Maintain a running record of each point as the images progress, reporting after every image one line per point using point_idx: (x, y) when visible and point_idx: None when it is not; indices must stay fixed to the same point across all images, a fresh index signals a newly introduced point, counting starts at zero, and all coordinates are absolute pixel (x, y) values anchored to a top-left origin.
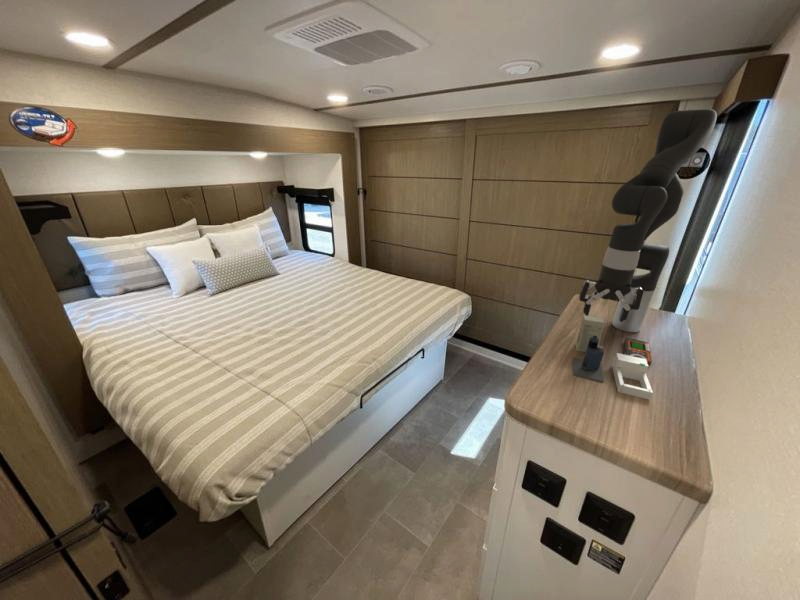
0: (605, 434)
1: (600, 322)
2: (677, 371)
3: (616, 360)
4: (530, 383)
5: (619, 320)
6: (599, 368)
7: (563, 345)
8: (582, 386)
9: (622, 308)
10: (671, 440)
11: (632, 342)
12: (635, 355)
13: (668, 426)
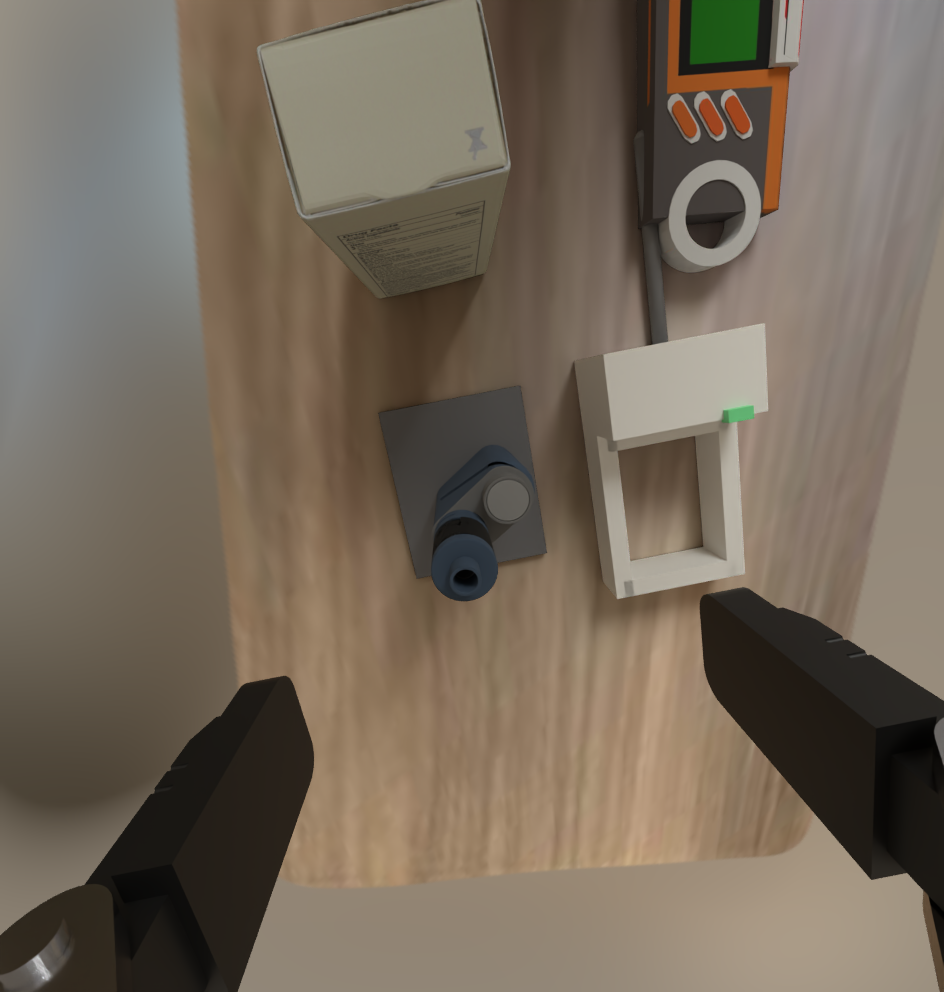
0: (572, 834)
1: (466, 183)
2: (888, 186)
3: (600, 408)
4: None
5: (706, 654)
6: (518, 446)
7: (293, 286)
8: (469, 635)
9: (858, 744)
10: None
11: None
12: (700, 186)
13: None
